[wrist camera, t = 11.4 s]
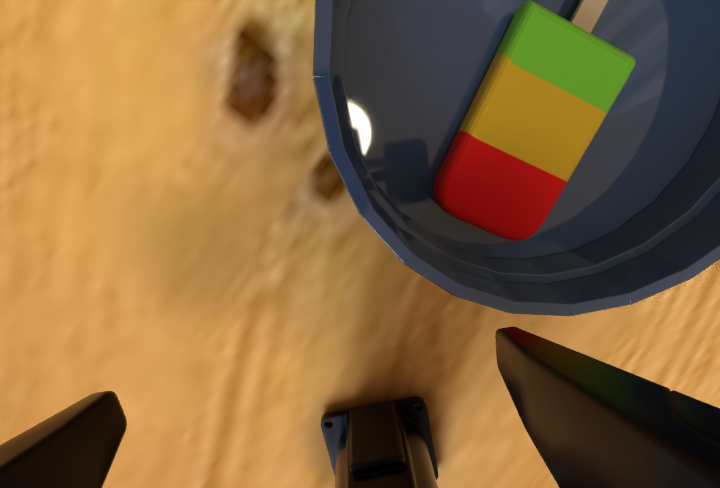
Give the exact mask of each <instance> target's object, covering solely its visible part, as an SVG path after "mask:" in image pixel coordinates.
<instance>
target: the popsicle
mask: <svg viewBox="0 0 720 488" xmlns="http://www.w3.org/2000/svg"><path fill="white" fill-rule="evenodd" d="M607 2H608V0H581V1H580V3H579V5H578V7H577V9H576V10H575V12H574V14H573V16H572V18H571V20H570V22H569V21H567V20H566V19H564V18H562V17H560V16H558V15H557V14H555V13H553V12H551V11H549V10H548V9H546V8H544V7H542V6H540V5H538V4H537V3H535V2H533V1H531V0H528V1H526V2H524V3H523V4H521V5H520V6H519V7H518V9H517V11H516V13H515V15H514V17H513V19H512V21H511V23H510V25H509V27H508V29H507V31H506V34H505V36H504V38H503V40H502V42H501V44H500V46H499V48H498V50H497V52H496V54H495V56H494V58H493V60H492V62H491V64H490V66H489V69H488V71H487V73H486V75H485V77H484V79H483V81H482V83H481V85H480V87H479V89H478V91H477V93H476V95H475V97H474V99H473V102H472V104H471V106H470V108H469V110H468V112H467V114H466V116H465V118H464V120H463V122H462V124H461V126H460V128H459V130H458V132H457V134H456V137H455V139H454V141H453V143H452V145H451V147H450V149H449V151H448V153H447V155H446V157H445V159H444V161H443V163H442V165H441V167H440V169H439V172H438V174H437V176H436V179H435V182H434V186H433V195H434V198H435V201H436V203H437V204H438V205H439V206H440V207H441V209H442V210H444V211H445V212H446V213H448V214H450V215H451V216H453V217H455V218H457V219H459V220H462V221H464V222H466V223H468V224H471V225H473V226H475V227H478V228H480V229H482V230H485V231H487V232H489V233H492V234H494V235H496V236H498V237H501V238H504V239H507V240H511V241H521V240H524V239H527V238H530V237H531V236H532V235H534V234H535V233H536V232H537V231H538V230H539V228H540V227H541V225H542V224H543V223H544V221H545V219H546V218H547V216H548V214H549V213H550V211H551V209H552V207H553V206H554V204H555V202H556V201H557V199H558V197H559V195H560V194H561V192H562V190H563V189H564V187H565V185H566V184H567V182H568V180H569V178H570V177H571V175H572V173H573V172H574V170H575V168H576V166H577V165H578V163H579V161H580V160H581V158H582V156H583V154H584V153H585V151H586V149H587V148H588V146H589V144H590V142H591V141H592V139H593V137H594V136H595V134H596V132H597V130H598V129H599V127H600V125H601V124H602V122H603V120H604V118H605V117H606V115H607V113H608V112H609V110H610V108H611V106H612V105H613V103H614V101H615V100H616V98H617V96H618V94H619V93H620V91H621V89H622V88H623V86H624V84H625V82H626V81H627V79H628V77H629V76H630V74H631V72H632V70H633V69H634V67H635V64H636V60H635V58H634V57H632V56H631V55H629V54H627V53H625V52H623V51H622V50H620V49H618V48H616V47H614V46H613V45H611V44H609V43H607V42H605V41H604V40H602V39H600V38H598V37H596V36H595V35H593V34H591V31H592V29H593V27H594V26H595V24H596V22H597V20H598V18H599V16H600V15H601V13H602V11H603V9H604V7H605V5H606V3H607Z"/></svg>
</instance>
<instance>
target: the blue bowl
mask: <svg viewBox="0 0 720 488" xmlns="http://www.w3.org/2000/svg"><path fill="white" fill-rule="evenodd" d="M526 1H528V0H315V27H314V59H313V77H314V79H313V80H314V84H315V89H316V94H317V98H318V103H319V108H320V112H321V117H322V122H323V127H324V131H325V136H326V141H327V145H328V150H329V152H330V156H331V158H332V160H333V162H334V164H335V166H336V168H337V170H338V172H339V174H340V176H341V178H342V180H343V182H344V184H345V186H346V188H347V190H348V192H349V194H350V196H351V198H352V200H353V202H354V204H355V206H356V208H357V210H358V212H359V214H360V215H361V217H362V218H363V219H364V220H365V222H366V223H367V224H368V225H369V226H370V227H371V228H372V229H373V230H374V232H375V233H376V234H377V235H378V236H379V237H380V238H381V239H382V241H383V242H384V243H385V244H386V245H387V246H388V247H389V248H390V249H391V251H392V252H393V253H394V254H395V255H396V256H397V257H398V258H399V260H400V261H401V262H402V263H404V264H405V265H406V266H408V267H409V268H411V269H412V270H414V271H416V272H417V273H419V274H420V275H422V276H423V277H425V278H426V279H428V280H430V281H431V282H433V283H434V284H436V285H437V286H439V287H441V288H442V289H444V290H445V291H447V292H448V293H450V294H452V295H454V296H455V297H459V298H462V299H465V300H468V301H472V302H475V303H478V304H481V305H485V306H488V307H491V308H494V309H497V310H501V311H504V312H507V313H512V314H532V315H554V316H574V315H579V314H584V313H589V312H594V311H600V310H605V309H610V308H615V307H621V306H626V305H630V304H634V303H636V302H638V301H641V300H643V299H645V298H648V297H650V296H652V295H655V294H657V293H659V292H662V291H664V290H666V289H669V288H671V287H673V286H676V285H678V284H680V283H683V282H685V281H687V280H690V279H691V278H693V277H695V276H696V275H698V274H699V273H700V272H702V271H703V270H705V269H706V268H708V267H709V266H711V265H712V264H714V263H715V262H716V261H718V260H719V259H720V0H608V2H607V3H606V5H605V7H604V9H603V11H602V13H601V15H600V16H599V18H598V20H597V22H596V24H595V26H594V27H593V29H592V31H591V34H593V35H595V36H596V37H598V38H600V39H602V40H604V41H605V42H607V43H609V44H611V45H613V46H614V47H616V48H618V49H620V50H622V51H623V52H625V53H627V54H629V55H631V56H632V57H634V58H635V60H636V64H635V67H634V69H633V70H632V72H631V74H630V76H629V77H628V79H627V81H626V82H625V84H624V86H623V88H622V89H621V91H620V93H619V94H618V96H617V98H616V100H615V101H614V103H613V105H612V106H611V108H610V110H609V112H608V113H607V115H606V117H605V118H604V120H603V122H602V124H601V125H600V127H599V129H598V130H597V132H596V134H595V136H594V137H593V139H592V141H591V142H590V144H589V146H588V148H587V149H586V151H585V153H584V154H583V156H582V158H581V160H580V161H579V163H578V165H577V166H576V168H575V170H574V172H573V173H572V175H571V177H570V178H569V180H568V182H567V184H566V185H565V187H564V189H563V190H562V192H561V194H560V195H559V197H558V199H557V201H556V202H555V204H554V206H553V207H552V209H551V211H550V213H549V214H548V216H547V218H546V219H545V221H544V223H543V224H542V225H541V227H540V228H539V230H538V231H537V232H536V233H535V234H534V235H532V236H531V237H530V238H527V239H524V240H521V241H511V240H507V239H504V238H501V237H498V236H496V235H494V234H492V233H489V232H487V231H485V230H482V229H480V228H478V227H475V226H473V225H471V224H468V223H466V222H464V221H462V220H459V219H457V218H455V217H453V216H451V215H450V214H448V213H446V212H445V211H444V210H442V209H441V207H440V206H439V205H438V204H437V203H436V201H435V198H434V195H433V186H434V182H435V179H436V176H437V174H438V172H439V169H440V167H441V165H442V163H443V161H444V159H445V157H446V155H447V153H448V151H449V149H450V147H451V145H452V143H453V141H454V139H455V137H456V134H457V132H458V130H459V128H460V126H461V124H462V122H463V120H464V118H465V116H466V114H467V112H468V110H469V108H470V106H471V104H472V102H473V99H474V97H475V95H476V93H477V91H478V89H479V87H480V85H481V83H482V81H483V79H484V77H485V75H486V73H487V71H488V69H489V66H490V64H491V62H492V60H493V58H494V56H495V54H496V52H497V50H498V48H499V46H500V44H501V42H502V40H503V38H504V36H505V34H506V31H507V29H508V27H509V25H510V23H511V21H512V19H513V17H514V15H515V13H516V11H517V9H518V7H519V6H520V5H521V4H523V3H524V2H526ZM531 1H533V2H535V3H537V4H538V5H540V6H542V7H544V8H546V9H548V10H549V11H551V12H553V13H555V14H557V15H558V16H560V17H562V18H564V19H566V20H567V21H569V22H570V20H571V18H572V16H573V14H574V12H575V10H576V9H577V7H578V5H579V3H580V1H581V0H531Z"/></svg>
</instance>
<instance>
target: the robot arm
mask: <svg viewBox="0 0 720 488" xmlns="http://www.w3.org/2000/svg"><path fill="white" fill-rule="evenodd" d="M495 337H496V354H497V364H498V368H499V371H500V373H501V375H502V377H503V380H504V382H505V384H506V386H507V389H508V391H509V393H510V395H511V398H512V400H513V402H514V404H515V407H516V409H517V411H518V413H519V416H520V418H521V420H522V422H523V424H524V426H525V428H526V430H527V432H528V434H529V436H530V438H531V440H532V441H533V443H534V445H535V446H536V448H537V450H538V452H539V453H540V455H541V457H542V458H543V460H544V462H545V463H546V465H547V467H548V469H549V470H550V472H551V474H552V475H553V477H554V479H555V480H556V482H557V484H558V486H559V487H560V488H720V408H717V407H715V406H712V405H709V404H707V403H704V402H702V401H699V400H696V399H694V398H691V397H689V396H687V395H684V394H682V393H679V392H677V391H670V389H669V388H666V387H664V386H661V385H659V384H656V383H654V382H651V381H649V380H646V379H644V378H641V377H639V376H636V375H634V374H631V373H629V372H626V371H624V370H621V369H619V368H616V367H614V366H611V365H609V364H606V363H604V362H601V361H599V360H596V359H594V358H591V357H589V356H586V355H584V354H581V353H579V352H576V351H574V350H571V349H569V348H566V347H564V346H561V345H559V344H556V343H554V342H551V341H549V340H546V339H544V338H541V337H539V336H536V335H534V334H531V333H529V332H526V331H524V330H521V329H519V328H516V327H507V328H501V329H498V330H497V331H496V335H495ZM417 404H420V406H415V405H417ZM327 421H331V423H328V422H327ZM126 426H127V421H126V417H125V415H124V412H123V410H122V407H121V405H120V402H119V400H118V398H117V395H116V394H115V393H114V392H112V391H105V392H98V393H94V394H91V395H89V396H88V397H86V398H84V399H82V400H80V401H79V402H77V403H75V404H73V405H71V406H70V407H68V408H66V409H64V410H63V411H61V412H59V413H57V414H55V415H54V416H52V417H50V418H48V419H46V420H45V421H43V422H41V423H39V424H38V425H36V426H34V427H32V428H30V429H29V430H27V431H25V432H23V433H21V434H20V435H18V436H16V437H14V438H13V439H11V440H9V441H7V442H5V443H4V444H2V445H0V488H102V486H103V484H104V481H105V479H106V477H107V474H108V472H109V469H110V467H111V464H112V462H113V460H114V457H115V455H116V452H117V450H118V448H119V445H120V443H121V440H122V438H123V435H124V433H125V430H126ZM321 427H322V431H323V434H324V438H325V441H326V445H327V449H328V452H329V456H330V459H331V463H332V467H333V470H334V474H335V488H438V486H437V482H436V479H437V478H438V470H437V464H436V459H435V453H434V447H433V441H432V435H431V429H430V424H429V418H428V412H427V406H426V403H425V400H424V399H423V398H422V397H420V396H415V397H410V398H405V399H399V400H394V401H389V402H384V403H378V404H373V405H368V406H362V407H357V408H352V409H346V410H341V411H336V412H331V413H326V414H324V415H323V416H322V418H321Z"/></svg>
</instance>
